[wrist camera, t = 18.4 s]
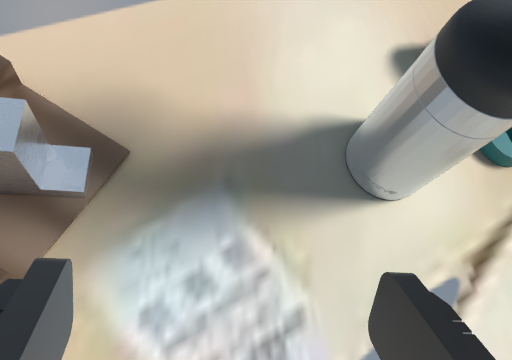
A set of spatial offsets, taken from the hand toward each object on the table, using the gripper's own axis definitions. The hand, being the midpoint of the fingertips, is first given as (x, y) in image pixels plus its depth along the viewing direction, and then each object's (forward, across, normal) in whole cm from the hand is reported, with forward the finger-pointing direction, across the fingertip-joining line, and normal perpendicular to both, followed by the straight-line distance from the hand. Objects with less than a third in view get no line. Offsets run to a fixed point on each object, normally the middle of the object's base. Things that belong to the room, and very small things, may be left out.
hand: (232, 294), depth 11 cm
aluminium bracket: (+30, +14, +10) cm, 35 cm away
